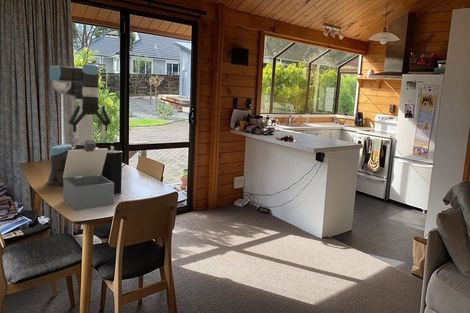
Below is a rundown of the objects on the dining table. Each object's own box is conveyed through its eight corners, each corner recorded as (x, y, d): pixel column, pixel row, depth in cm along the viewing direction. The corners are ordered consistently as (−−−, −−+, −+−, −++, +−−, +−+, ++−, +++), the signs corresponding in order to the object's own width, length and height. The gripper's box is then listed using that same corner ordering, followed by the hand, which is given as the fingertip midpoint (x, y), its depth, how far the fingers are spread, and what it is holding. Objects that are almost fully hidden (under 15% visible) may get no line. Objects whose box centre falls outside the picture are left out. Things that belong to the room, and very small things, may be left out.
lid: (63, 179, 195) (62, 175, 196) (101, 175, 208) (100, 172, 209) (70, 144, 182) (69, 140, 184) (110, 143, 195) (108, 139, 197)
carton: (63, 200, 198) (63, 178, 195) (100, 195, 211) (101, 175, 208) (74, 210, 184) (74, 187, 182) (113, 204, 197) (114, 183, 195)
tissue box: (110, 196, 211) (111, 147, 206) (101, 193, 215) (102, 145, 210) (121, 193, 218) (122, 146, 213) (112, 190, 222) (113, 144, 217)
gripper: (66, 95, 175) (66, 139, 179) (117, 97, 191) (116, 138, 195) (61, 94, 180) (62, 137, 185) (111, 96, 197) (111, 136, 201)
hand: (90, 137), depth 190 cm, fingers open, 13 cm apart
